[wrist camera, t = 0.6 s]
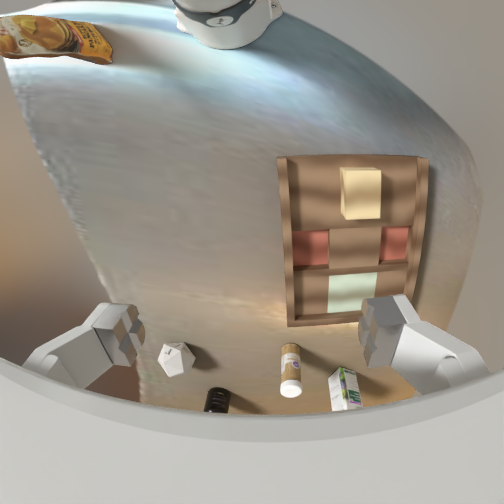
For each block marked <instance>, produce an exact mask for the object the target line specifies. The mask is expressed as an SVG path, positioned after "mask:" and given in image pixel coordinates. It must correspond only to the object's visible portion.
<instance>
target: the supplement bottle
mask: <svg viewBox="0 0 504 504" xmlns="http://www.w3.org/2000/svg"><path fill="white" fill-rule="evenodd" d="M229 402H230V393H229V392H228V391H227V390H225V389H223V388H218V387H216V388H212V389H210V390H209V391H208V394H207V398H206V403H205V407H204V411H203V412H211V413H226V414H228V409H229Z"/></svg>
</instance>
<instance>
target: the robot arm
mask: <svg viewBox="0 0 504 504" xmlns="http://www.w3.org/2000/svg"><path fill="white" fill-rule="evenodd" d="M173 2H174V4H175V6H176V10H175V11H174V13H175V15H176V17H177V18H178V22H177V28H178V29H179V30H180V31H181V32H184V33H188V34H191V35H192V36H194V37H195V38H196V39H197V40H198V41H199V42H201V43H202V44H204V45H206V46H209V47H212V48H216V49H234V48H238V47H242V46H245V45H247V44H249V43H251V42H253V41H254V40H256V39H257V38H258V37H260V36H261V35H262V34H263V32H264V31H265V30H266V28H267V27H268V25H269V24H270V23H271V22H272V21H274V20H276V19H277V18H279V17H280V16H281V15H282V13H283V12H282V8H281V6H280V4H279V2H278V0H173ZM271 6H275V8H272V7H271ZM361 310H362V313H363V316H362V317H361V318H360V319H359V325H358V335H359V341H360V344H361V345H362V346H363V347H364V348H365V350H364V357H365V360H366V364H367V367H368V368H373V367H381V366H388V365H391V367H392V368H393V369H394V370H395V371H396V372H398V373H399V374H400V375H401V376H402V377H403V378H404V379H405V380H406V381H407V382H409V383H410V384H411V385H412V386H413V387H414V388H415V389H416V390H417V391H418V392H420V393H421V394H422V396H419V397H414V398H410V399H405V400H401V401H396V402H391V403H386V404H381V405H375V406H369V407H362V408H355V409H348V410H339V411H330V412H319V413H305V414H280V415H250V414H226V413H211V412H200V411H190V410H182V409H174V408H167V407H161V406H155V405H149V404H143V403H138V402H133V401H128V400H124V399H119V398H115V397H111V396H107V395H103V394H99V393H95V392H91V391H88V390H85V388H86V387H87V386H88V385H89V384H91V383H92V382H93V381H94V380H95V379H97V378H98V377H99V376H100V375H102V374H103V373H104V372H105V371H106V370H108V369H109V368H110V367H111V366H113V364H115V365H123V366H131V365H132V364H133V362H134V360H135V358H136V356H137V351H136V350H137V349H138V348H140V347H141V346H142V345H143V343H144V340H145V329H144V326H143V323H142V322H141V321H140V320H139V319H138V315H139V313H138V310H137V308H136V306H134V305H132V304H117V303H100V304H99V305H98V306H97V307H96V309H95V310H94V311H93V312H92V314H91V315H90V316H89V317H88V318H87V320H86V321H85V322H84V323H83V325H82V326H77V327H75V328H74V329H72V330H70V331H68V332H66V333H65V334H62V335H61V336H59V337H57V338H55V339H53V340H51V341H50V342H48V343H46V344H44V345H42V346H40V347H38V348H37V349H35V350H34V352H33V353H32V354H31V355H30V357H29V358H28V359H27V360H26V362H25V363H24V364H23V366H22V367H20V366H18V365H16V364H13V363H11V362H9V361H7V360H5V359H3V358H1V357H0V504H504V368H502V369H500V370H497V371H495V372H492V373H490V371H489V370H488V368H487V366H486V364H485V363H484V361H483V359H482V358H481V356H480V354H479V353H478V351H477V350H476V349H475V348H473V347H471V346H469V345H468V344H466V343H464V342H462V341H460V340H459V339H457V338H455V337H453V336H452V335H450V334H448V333H446V332H444V331H443V330H441V329H439V328H437V327H435V326H434V325H432V324H430V323H428V322H426V321H421V319H420V318H419V316H418V314H417V313H416V311H415V310H414V308H413V306H412V305H411V303H410V302H409V300H408V299H407V297H406V295H404V294H397V295H390V296H385V297H376V298H366V299H363V301H362V305H361Z"/></svg>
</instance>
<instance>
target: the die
mask: <svg viewBox="0 0 504 504" xmlns="http://www.w3.org/2000/svg"><path fill="white" fill-rule="evenodd" d="M195 359H196V358H195V357H194V355H193V354H192V353H191V351H190V350H189V349H188V347H187V346H186V344H185V343H184V342H179V343H171V344H164V346H163V348H162V351H161V353H160V356H159V358H158V361H159V363H160V364H161V366H162V367H163V369H164V370H165V372H166V373H167V375H168V376H169V377H173V376H179V375H185V374H189V372H190V370H191V367H192V365H193V363H194V361H195Z"/></svg>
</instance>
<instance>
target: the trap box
mask: <svg viewBox="0 0 504 504" xmlns="http://www.w3.org/2000/svg"><path fill="white" fill-rule="evenodd" d="M277 166H278V178H279V190H280V203H281V217H282V231H283V247H284V264H285V282H286V303H287V327H300V326H316V325H329V324H340V323H351V322H359V319H360V318H361V317H362V316H363V313H362V310H361V305H362V301H363V299H366V298H376V297H385V296H390V295H397V294H404V295H406V297H407V299H408V300H409V302H410V303H411V302H412V298H413V293H414V289H415V284H416V279H417V274H418V268H419V263H420V257H421V250H422V244H423V236H424V228H425V219H426V209H427V196H428V176H429V159H426V158H422V157H418V156H404V155H377V154H329V155H301V156H283V157H277ZM340 167H374V168H376V169H379V170H381V207H380V218H377V219H352V220H346V219H345V217H344V216H343V215H342V213H341V181H340Z"/></svg>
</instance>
